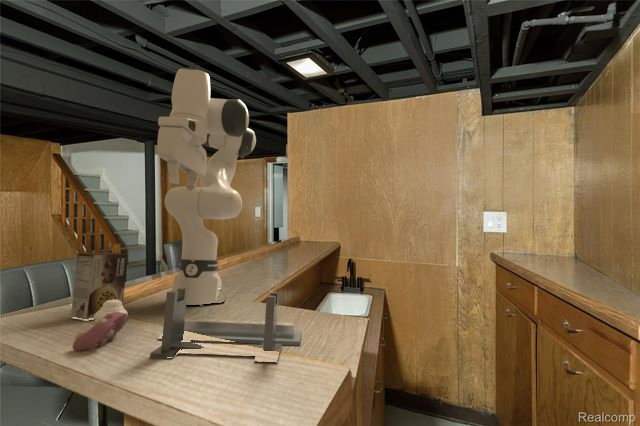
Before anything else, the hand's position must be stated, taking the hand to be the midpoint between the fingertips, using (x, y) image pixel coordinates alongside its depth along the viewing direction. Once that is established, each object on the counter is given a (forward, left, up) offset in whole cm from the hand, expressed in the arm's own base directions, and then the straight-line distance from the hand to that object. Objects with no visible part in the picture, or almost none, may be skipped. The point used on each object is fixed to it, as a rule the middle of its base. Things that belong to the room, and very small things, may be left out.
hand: (182, 187), depth 75 cm
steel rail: (+4, +16, -32) cm, 36 cm away
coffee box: (-8, -22, -33) cm, 41 cm away
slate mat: (+4, +16, -33) cm, 37 cm away
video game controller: (+11, -8, -33) cm, 36 cm away
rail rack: (+14, +16, -33) cm, 39 cm away
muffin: (+4, -11, -33) cm, 35 cm away
